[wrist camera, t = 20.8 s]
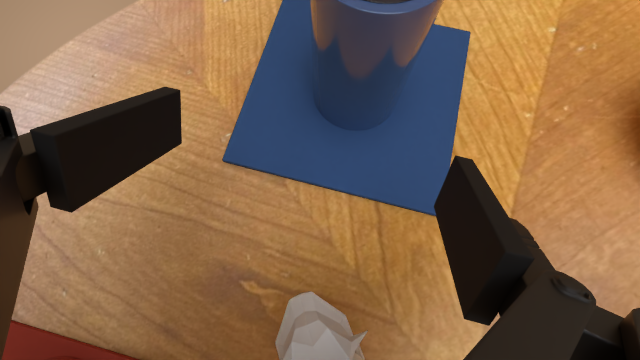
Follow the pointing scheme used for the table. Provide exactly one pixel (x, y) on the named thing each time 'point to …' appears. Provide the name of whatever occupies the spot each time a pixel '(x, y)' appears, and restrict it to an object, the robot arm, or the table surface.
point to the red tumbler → (62, 358)
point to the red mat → (50, 346)
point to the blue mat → (349, 145)
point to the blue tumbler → (365, 56)
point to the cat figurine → (316, 332)
